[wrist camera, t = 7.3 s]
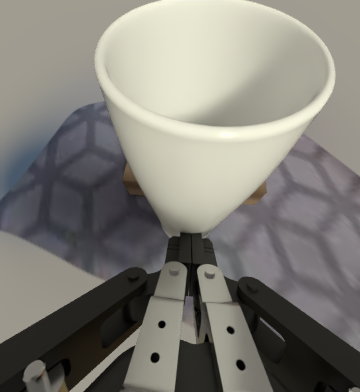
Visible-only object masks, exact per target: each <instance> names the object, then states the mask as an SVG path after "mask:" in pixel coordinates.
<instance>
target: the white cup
mask: <svg viewBox="0 0 360 392" xmlns="http://www.w3.org/2000/svg"><path fill="white" fill-rule="evenodd" d="M94 67H95V73H96V76H97V80H98V82H99V85H100V88H101V91H102V94H103V97H104V100H105V103H106V106H107V109H108V112H109V115H110V118H111V121H112V124H113V127H114V130H115V133H116V135H117V138H118V141H119V143H120V146H121V148H122V151H123V153H124V155H125V158H126V160H127V162H128V165H129V167H130V169H131V171H132V173H133V175H134V177H135V179H136V181H137V183H138V184H139V186H140V188H141V190H142V191H143V193H144V195H145V197H146V198H147V200H148V202H149V203H150V205H151V207H152V208H153V210H154V212H155V214H156V215H157V217H158V219H159V221H160V224H161V226H162V229H163V230H164V232H165V233H166V235H167V236H168V237H169V238H171V237H172V236H180V232H183V233H190V235H191V233H202V238H206V237H207V236H208V235H209V234H210V232H211V231H212V230H213V229H214V228H215V227H216V226H217V225H218V224H219V223H221V222H222V221H223V220H224V219H225V218H226V217H227V216H229V215H230V214H231V213H232V212H233V211H234V210H235V209H237V208H238V207H239V206H240V205H241V204H242V203H243V202H245V201H246V200H247V199H248V198H249V197H250V196H251V195H252V194H253V193H254V192H255V191H256V190H257V189H258V188H259V187H260V186H261V185H262V184H263V183H264V182H265V180H266V179H267V178H268V177H269V176H270V175H271V174H272V172H273V171H274V170H275V169H276V168H277V167H278V165H279V164H280V163H281V162H282V160H283V159H284V158H285V157H286V155H287V154H288V153H289V152H290V150H291V149H292V148H293V146H294V145H295V144H296V143H297V141H298V140H299V139H300V137H301V136H302V135H303V133H304V132H305V130H306V129H307V128H308V126H309V125H310V124H311V122H312V121H313V120H314V118H315V117H316V115H317V114H318V113H319V112H320V111H321V109H322V108H323V107H324V106H325V104H326V103H327V101H328V99H329V98H330V96H331V94H332V91H333V88H334V85H335V78H336V72H335V65H334V61H333V58H332V56H331V54H330V52H329V50H328V48H327V47H326V45H325V44H324V42H323V41H322V40H321V39H320V38H319V37H318V36H317V35H316V34H315V33H314V32H313V31H312V30H311V29H310V28H308V27H307V26H306V25H304V24H303V23H301V22H300V21H298V20H296V19H295V18H293V17H291V16H289V15H287V14H285V13H283V12H281V11H278V10H276V9H274V8H271V7H268V6H265V5H262V4H259V3H255V2H251V1H246V0H160V1H155V2H152V3H149V4H146V5H143V6H140V7H138V8H136V9H133V10H131V11H129V12H127V13H126V14H124V15H123V16H121V17H119V18H118V19H117V20H115V21H114V22H113V23H112V24H111V25H110V26H109V27H108V28H107V29H106V30H105V32H104V33H103V34H102V36H101V38H100V39H99V41H98V44H97V46H96V50H95V55H94Z"/></svg>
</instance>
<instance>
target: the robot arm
mask: <svg viewBox="0 0 360 392" xmlns="http://www.w3.org/2000/svg"><path fill="white" fill-rule="evenodd" d="M188 291H189V296H193V318H194V327H195V335H196V344H191V343H188V342H186V341H183V340H180V334H181V326H182V316H183V307H184V305H185V298H186V296H188ZM260 317H261V318H262V319H263V320H265V321H266V322H267V323H268V324H269V325H270V326H271V327H273V328H274V329H275V330H276V331H277V332H278V333H279V334H281V336H282V337H283V338H284V340H285V342H284V341H283V340H282V339H281V338H280V337H279V336H278V335H276V334H275V333H274V332H273V331H272V330H271V329H270V328H269V327H267V326H266V325H265V324H264V323H263V322H262V321H261V320H260ZM141 325H142V327H141V330H140V333H139V337H138V339H137V343H136V345H135V346H133V347H131V348H129V349H128V350H126V351H125V352H123V353H122V354H121V355H120V356H118V357H117V358H116V359H115V360H114V361H113V362H112V363H111V364H110V365H109V366H108V367H107V368H106V369H105V370H104V372H102V373H101V374H100V376H99V377H97V378H96V380H95V381H94V382H93V383H92V384H91V385H90V386H89V387H88V388H87V389H86V390H85V391H84V392H360V352H359V351H357V350H356V349H354V348H353V347H352V346H350V345H349V344H347V343H346V342H345V341H343V340H342V339H340V338H339V337H338V336H336V335H335V334H333V333H332V332H331V331H329V330H328V329H326V328H325V327H324V326H322V325H321V324H319V323H318V322H317V321H315V320H314V319H312V318H311V317H310V316H308V315H307V314H305V313H304V312H303V311H301V310H300V309H298V308H297V307H296V306H294V305H293V304H291V303H290V302H289V301H287V300H286V299H284V298H283V297H282V296H280V295H279V294H277V293H276V292H275V291H273V290H272V289H270V288H269V287H267V286H266V285H265V284H263V283H262V282H260V281H259V280H257V279H255V278H252V277H242V278H241V279H240V280H239V282H237V281H234V280H231V279H228V278H226V277H225V276H223V274H222V271H221V270H220V269H219V268H218V267H217V262H216V258H215V253H214V249H213V245H212V242H211V241H210V240H209V239H206V238H202V233H191V235H190V233H183V232H180V236H172V237H171V238H170V239H169V242H168V248H167V254H166V260H165V264H164V265H163V267H162V269H161V270H160V271H158V272H155V273H151V274H147V273H146V271H145V270H144V269H142V268H138V267H133V268H129V269H126V270H125V271H123V272H121V273H120V274H118V275H116V276H114V277H113V278H111V279H109V280H108V281H106V282H104V283H103V284H101V285H99V286H98V287H96V288H94V289H93V290H91V291H89V292H87V293H86V294H84V295H82V296H81V297H79V298H77V299H75V300H74V301H72V302H70V303H69V304H67V305H65V306H64V307H62V308H60V309H59V310H57V311H55V312H53V313H52V314H50V315H48V316H47V317H45V318H43V319H42V320H40V321H38V322H36V323H35V324H33V325H31V326H30V327H28V328H27V329H25V330H23V331H21V332H20V333H18V334H16V335H14V336H13V337H11V338H9V339H8V340H6V341H4V342H3V343H1V344H0V392H69V391H70V390H71V389H72V388H73V387H75V385H77V384H78V383H79V382H80V381H81V380H82V379H83V378H84V377H85V376H87V374H89V373H90V372H91V371H92V370H93V369H94V368H95V367H96V366H97V365H99V364H100V363H101V362H102V361H103V360H104V359H105V358H106V357H107V356H108V355H109V354H110V353H112V352H113V351H114V350H115V349H116V348H117V347H118V346H119V345H120V344H121V343H123V342H124V341H125V340H126V339H127V338H128V337H129V336H130V335H131V334H132V333H134V332H135V331H136V330H137V329H138V328H139V327H140V326H141Z"/></svg>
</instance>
